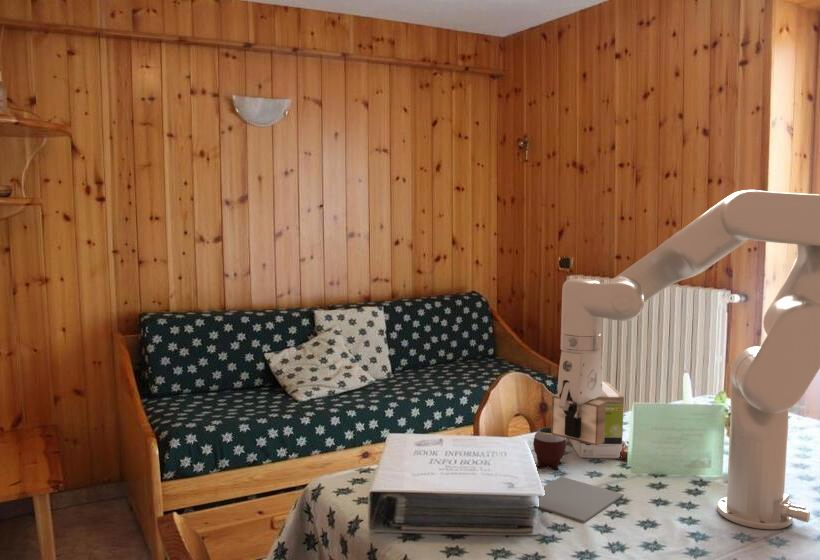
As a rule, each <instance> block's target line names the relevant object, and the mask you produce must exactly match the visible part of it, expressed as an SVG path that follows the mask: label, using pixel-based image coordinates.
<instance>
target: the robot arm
mask: <svg viewBox="0 0 820 560" xmlns="http://www.w3.org/2000/svg"><path fill="white" fill-rule="evenodd" d="M748 241H756V242H764V243H765V242H766V243H778V244H789V245H796V257H795V260H794V262H793V265H792V268H791V269H790V272H789V274H788V275H787V277H786V278H785V281H784V283H783V284H782V286H781V287H780V288H779V291H778V293H777V295H776V296H775V297H774V299H773V300H772V302H771V303H770V306H769V307H768V309H767V310H766V312H765V314H764V316H763V328H764V332H765V333H766V337H765V338H764V340H763V342H762V344H761V346H751V347H748V348H746V349H744V350H741V351H740V352H739V354H738V355H736V357H735V358H734V359H733V362H732V364H731V368H730V373H729V374H730V377H729V378H730V379H729V382H730V383H729V385H730V387H729V388H730V390H729V391H730V420H729V421H730V423H729V424H730V425H729V443H728V444H729V445H728V463H727V464H728V465H727V466H728V467H727V482H726V483H727V485H726V496H725V497H722V498H720V499H719V500H718V501H717V505H716V507H717V508H716V509H717V511H718V513H719V514H720V515H721V517H724V518H725V519H727V520H729V521H730V522H733V523H735V524H738V525H741V526H745V527H747V528H748V527H749V528H753V529H759V530H779V529H784V528H787V527H789V526H790V525H792V523H793V519H796V520H798V521H800V522H805V523H809V521H810V519H811V517H810V516H811V515H810V514H811V513H810V511H808V510H806V506H803V505H800V504H795V503H792V501H790V495H789V494H788V493H785V486H786V485H785V484H786V482H785V481H786V471H787V470H786V467H787V466H786V465H787V453H788V452H787V449H788V448H787V447H788V438H789V436H788V435H789V410H790V409H792V408H793V407H794V406H795V405H797V404H798V402H799V401H800V400H801V399H802V397H803V396H804V394H805V393H806V391H807V390H808V388H809V387H810V385H811V383H812V382H813V381H814V379H815V377H816V375H817V374H818V372H819V370H820V194H816V193H799V192H797V193H795V192H780V191H779V192H778V191H769V190H767V191H766V190H759V189H757V190H756V189H747V190H746V189H744V190H739V191H735V192H733V193H731V194H730V195H728V196H727V197H725V198H724V199H722V200H720V201H719V202H718V203H717V204H715V205H714V206H712V207H710V208H709V209H708V210H707V211H705V212H704V213H702V214H701V215H700V216H698V217H697V218H695V220H693V221H692V222H690V223H689V224H687V225H686V226H685V227H683V228H682V229H680V230H678V231H677V232H676V233H675V234H673V235H672V236H671V237H669V238H667V239H666V240H665V241H663V242H662V243H661V244H660V245H659V246H657V247H656V248H655V249H653V250H652V251H650V252H649V253H648V254H646V255H645V256H643V257H641V258H640V259H639V260H638V261H636V262H634V263H633V264H632V265H630V266H629V267H628V268H625V270H623V271H622V272H621V273H619V274H618V275H616V276H615V277H613V278H612V279H611V280H610V281H609V282H600V281H599V280H596V279H589V278H570V279H566V280H565V281H564V283H563V285H562V289H561V290H562V291H561V293H562V294H561V320H560V322H561V323H560V327H561V328H560V350H561V353H560V359H559V367H558V378H557V379H558V380H557V394H558V397H559V399H560V402H559V408H561V409H563V411H564V416H565V435H567V436H571V437H575V438H580V437H581V418H579V414H580V404H584V403H586V402H589V401H591V400H593V399H596V398H598V397H599V396H600V395H601V394H602V382H603V365H602V354H601V353H602V352H601V337H602V319H607V320H612V321H618V322H628V321H632V320H634V319H636V318H637V317H638V316H639V315H641V313H642V311H643V310H644V305H645V303H646V302H648V301H649V300H650V299H651V298H654V296H656V295H658V294H659V293H661V292H662V291H664V290H665V289H666V288H669V287H670V286H672V285H674V284H676V283H678V282H681V281H683V280H687V279H690V278H692V277H695V276H698V275H700V274H701V273H703V272H705V271H707V270H708V269H710V267H712V266H713V265H715V264H716V263H717V262H719V261H720V260H722V259H723V258H725V257H727V256H728V255H729V254H731V253H732V252H733V251H734V250H736V249H738V248H739V247H741V246H742V245H744V244H745V243H747V242H748ZM570 398H572V400H570ZM570 404H572V405H575V409H574V408H573V406H570Z"/></svg>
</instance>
